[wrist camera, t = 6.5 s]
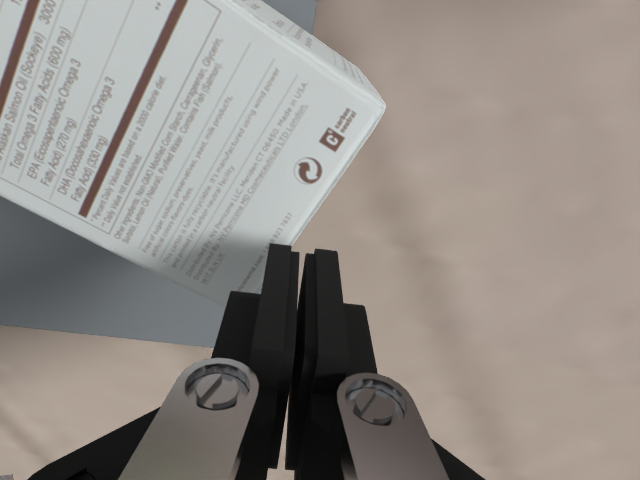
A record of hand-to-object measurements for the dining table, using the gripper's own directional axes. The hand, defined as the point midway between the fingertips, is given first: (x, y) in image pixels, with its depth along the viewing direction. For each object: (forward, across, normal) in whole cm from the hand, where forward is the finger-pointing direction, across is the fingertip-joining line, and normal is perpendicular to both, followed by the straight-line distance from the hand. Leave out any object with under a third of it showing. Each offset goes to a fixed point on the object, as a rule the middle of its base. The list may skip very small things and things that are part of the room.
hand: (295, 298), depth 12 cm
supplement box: (+5, 0, -1) cm, 5 cm away
